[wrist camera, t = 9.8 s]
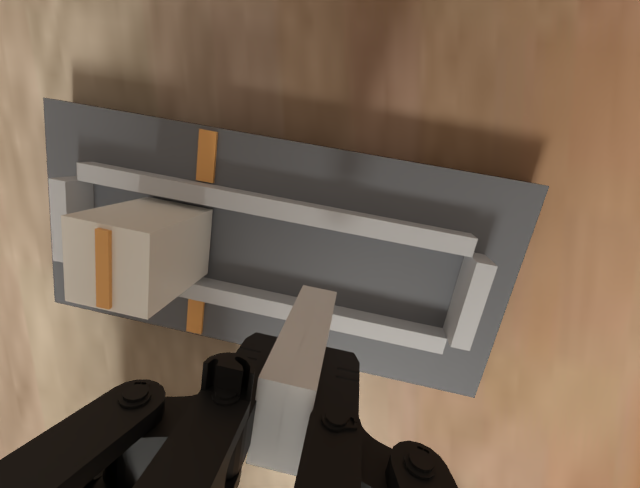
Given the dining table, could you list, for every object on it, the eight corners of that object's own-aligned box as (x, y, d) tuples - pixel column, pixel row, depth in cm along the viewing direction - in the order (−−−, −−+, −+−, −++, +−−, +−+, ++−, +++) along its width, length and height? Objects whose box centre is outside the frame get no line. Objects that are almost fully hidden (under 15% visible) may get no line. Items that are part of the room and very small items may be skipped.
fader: (207, 273, 21) (144, 321, 15) (146, 260, 21) (61, 302, 15) (212, 209, 20) (147, 234, 14) (147, 196, 20) (56, 216, 14)
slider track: (465, 377, 23) (485, 422, 19) (78, 290, 25) (26, 315, 21) (531, 182, 19) (571, 190, 16) (71, 102, 22) (8, 92, 18)
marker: (202, 332, 22) (200, 334, 22) (187, 329, 23) (186, 331, 22) (218, 132, 19) (216, 131, 19) (200, 128, 19) (199, 128, 19)
